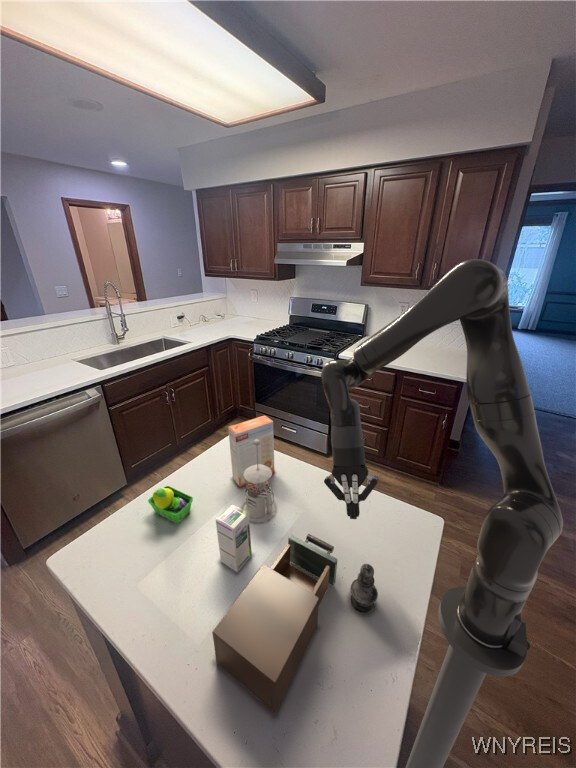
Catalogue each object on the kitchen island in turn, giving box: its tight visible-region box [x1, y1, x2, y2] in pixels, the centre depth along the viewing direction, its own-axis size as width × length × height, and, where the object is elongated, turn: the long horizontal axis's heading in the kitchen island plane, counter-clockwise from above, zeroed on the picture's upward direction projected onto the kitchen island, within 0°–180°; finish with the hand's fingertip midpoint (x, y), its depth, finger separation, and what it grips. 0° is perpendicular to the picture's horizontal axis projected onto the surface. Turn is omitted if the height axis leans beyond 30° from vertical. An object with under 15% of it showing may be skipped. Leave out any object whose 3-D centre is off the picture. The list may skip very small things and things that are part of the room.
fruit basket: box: [147, 485, 194, 524], centre depth 91 cm, size 11×9×11 cm
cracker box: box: [227, 414, 275, 488], centre depth 105 cm, size 14×6×21 cm, turn 124°
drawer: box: [270, 533, 338, 606], centre depth 71 cm, size 19×12×8 cm, turn 148°
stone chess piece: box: [350, 563, 379, 615], centre depth 68 cm, size 6×6×12 cm
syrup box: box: [215, 504, 253, 573], centre depth 77 cm, size 6×6×14 cm
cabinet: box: [212, 563, 320, 715], centre depth 60 cm, size 16×14×10 cm
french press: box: [242, 439, 276, 524], centre depth 89 cm, size 10×12×25 cm
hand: (353, 517), depth 73 cm, fingers closed
